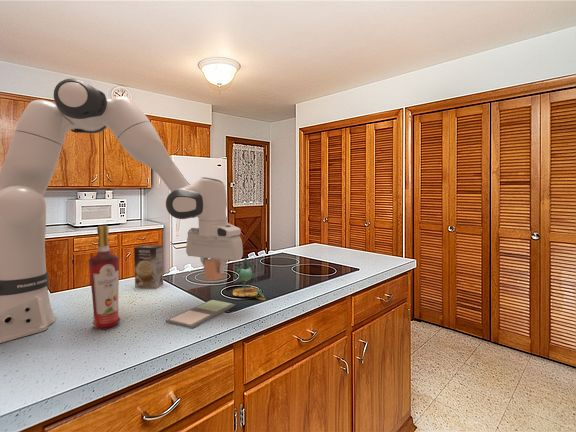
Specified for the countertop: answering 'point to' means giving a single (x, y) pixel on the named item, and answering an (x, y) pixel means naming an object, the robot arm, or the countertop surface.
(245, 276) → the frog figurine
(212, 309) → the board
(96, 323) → the liquor
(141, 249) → the coffee box
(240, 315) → the countertop surface
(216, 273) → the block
